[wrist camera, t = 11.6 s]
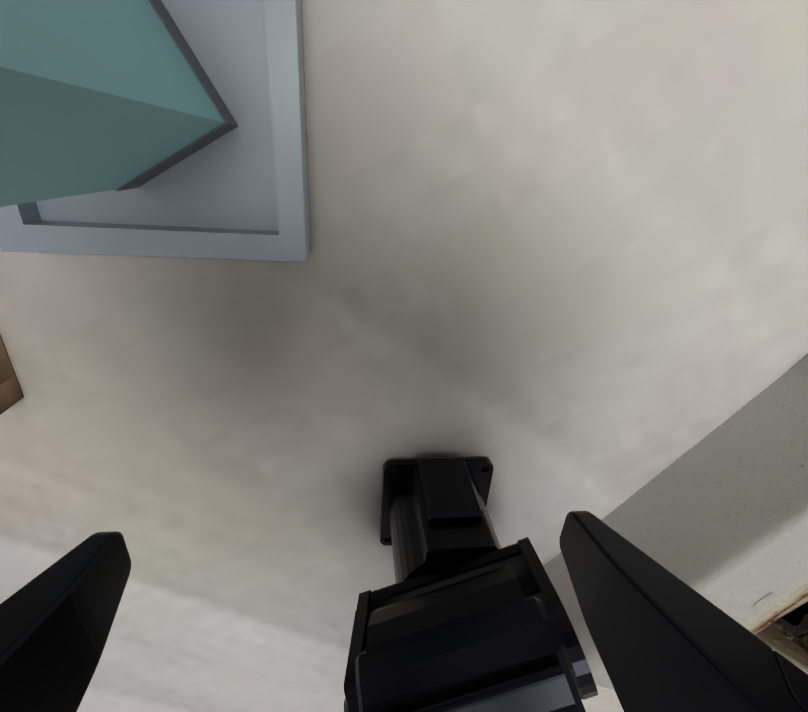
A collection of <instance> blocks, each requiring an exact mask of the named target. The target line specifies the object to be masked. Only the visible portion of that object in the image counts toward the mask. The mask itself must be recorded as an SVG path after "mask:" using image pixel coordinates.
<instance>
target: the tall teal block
mask: <svg viewBox="0 0 808 712" xmlns="http://www.w3.org/2000/svg"><path fill="white" fill-rule="evenodd" d="M236 127H238V124H237V123H236V121H235V119H234V118H233V116H232V114H231V113H230V111H229V110H228V108H227V106H226V105H225V103H224V101H223V100H222V98H221V97H220V95H219V93H218V92H217V90H216V88H215V87H214V85H213V84H212V82H211V80H210V79H209V77H208V75H207V74H206V72H205V71H204V69H203V67H202V66H201V64H200V62H199V61H198V59H197V58H196V56H195V54H194V53H193V51H192V49H191V48H190V46H189V45H188V43H187V41H186V40H185V38H184V36H183V35H182V33H181V32H180V30H179V28H178V27H177V25H176V23H175V22H174V20H173V19H172V17H171V15H170V14H169V12H168V10H167V9H166V7H165V6H164V4H163V2H162V1H161V0H0V207H2V206H9V205H15V204H22V203H29V202H35V201H42V200H49V199H55V198H62V197H69V196H75V195H82V194H88V193H95V192H102V191H108V190H115V191H122V190H128V189H134V188H138V187H140V186H141V185H143V184H145V183H146V182H148V181H150V180H151V179H153V178H154V177H156V176H158V175H159V174H161V173H163V172H164V171H166V170H168V169H169V168H171V167H172V166H174V165H176V164H177V163H179V162H181V161H182V160H184V159H185V158H187V157H189V156H190V155H192V154H194V153H195V152H197V151H199V150H200V149H202V148H203V147H205V146H207V145H208V144H210V143H212V142H213V141H215V140H216V139H218V138H220V137H221V136H223V135H225V134H226V133H228V132H230V131H231V130H233V129H234V128H236Z"/></svg>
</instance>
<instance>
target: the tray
mask: <svg viewBox="0 0 808 712" xmlns="http://www.w3.org/2000/svg"><path fill="white" fill-rule="evenodd" d="M161 1H162V2H163V4H164V6H165V7H166V9H167V10H168V12H169V14H170V15H171V17H172V19H173V20H174V22H175V23H176V25H177V27H178V28H179V30H180V32H181V33H182V35H183V36H184V38H185V40H186V41H187V43H188V45H189V46H190V48H191V49H192V51H193V53H194V54H195V56H196V58H197V59H198V61H199V62H200V64H201V66H202V67H203V69H204V71H205V72H206V74H207V75H208V77H209V79H210V80H211V82H212V84H213V85H214V87H215V88H216V90H217V92H218V93H219V95H220V97H221V98H222V100H223V101H224V103H225V105H226V106H227V108H228V110H229V111H230V113H231V114H232V116H233V118H234V119H235V121H236V123H237V124H238V127H236V128H234V129H233V130H231V131H230V132H228V133H226V134H225V135H223V136H221V137H220V138H218V139H216V140H215V141H213V142H212V143H210V144H208V145H207V146H205V147H203V148H202V149H200V150H199V151H197V152H195V153H194V154H192V155H190V156H189V157H187V158H185V159H184V160H182V161H181V162H179V163H177V164H176V165H174V166H172V167H171V168H169V169H168V170H166V171H164V172H163V173H161V174H159V175H158V176H156V177H154V178H153V179H151V180H150V181H148V182H146V183H145V184H143V185H141V186H140V187H138V188H134V189H128V190H122V191H115V190H108V191H102V192H95V193H88V194H82V195H75V196H69V197H62V198H55V199H49V200H42V201H35V202H29V203H22V204H15V205H9V206H2V207H0V246H1V249H2V251H11V252H39V253H67V254H96V255H124V256H153V257H181V258H210V259H238V260H267V261H295V262H306V261H307V258H308V256H309V254H310V226H309V197H308V169H307V140H306V111H305V82H304V53H303V24H302V0H161Z"/></svg>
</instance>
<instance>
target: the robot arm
mask: <svg viewBox="0 0 808 712" xmlns="http://www.w3.org/2000/svg"><path fill="white" fill-rule="evenodd" d="M483 466H486V467H485V468H482V467H483ZM392 468H394V469H395V470H392V471H391V470H390V469H392ZM492 473H493V465H492V463H491V461H490V460H489V459H487V458H466V459H426V460H392V461H388V462H386V463H385V464H384V467H383V483H382V503H381V522H380V542H381V543H382V544H383V545H392V549H393V558H394V568H395V578H396V584H393V585H390V586H387V587H384V588H381V589H378V590H375V591H372V592H371V591H370V590H369V591H366V592H363V593H360V594H359V599H358V605H357V610H356V613H355V619H354V625H353V631H352V638H351V644H350V650H349V656H348V662H347V668H346V675H345V681H344V692H345V697H346V698H345V701H344V712H585V709H584V706H583V704H582V701H581V699H587V698H590V697H593V696H596V695H598V692H597V688H596V685H595V681H594V679H593V676H592V673H591V670H590V667H589V665H588V662H587V659H586V657H585V654H584V652H583V649H582V647H581V644H580V642H579V640H578V637H577V635H576V633H575V630H574V628H573V626H572V623H571V621H570V619H569V617H568V615H567V612H566V610H565V608H564V606H563V604H562V602H561V600H560V598H559V596H558V594H557V592H556V590H555V588H554V586H553V584H552V583H551V581H550V579H549V577H548V575H547V573H546V571H545V569H544V567H543V565H542V563H541V562H540V560H539V558H538V556H537V554H536V552H535V550H534V548H533V546H532V544H531V542H530V541H529V539H528V537H527V538H524V539H521V540H518V541H517V542H518V543H516V544H513V545H510V546H507V547H504V548H501V547H500V544H499V542H498V539H497V536H496V534H495V531H494V528H493V526H492V523H491V520H490V518H489V515H488V513H487V510H486V503H487V498H488V493H489V488H490V483H491V478H492ZM387 537H388V538H387ZM560 548H561V552H562V555H563V558H564V561H565V564H566V567H567V570H568V573H569V576H570V579H571V582H572V585H573V588H574V591H575V594H576V597H577V600H578V603H579V606H580V609H581V612H582V615H583V617H584V620H585V623H586V625H587V628H588V630H589V632H590V635H591V637H592V639H593V642H594V644H595V646H596V649H597V651H598V653H599V655H600V658H601V660H602V662H603V664H604V667H605V669H606V671H607V674H608V676H609V678H610V680H611V683H612V685H613V687H614V689H615V692H616V694H617V696H618V699H619V701H620V703H621V705H622V708H623V710H624V712H808V674H807V673H806V672H804V671H803V670H801V669H800V668H799V667H797V666H796V665H795V664H793V663H792V662H791V661H789V660H788V659H787V658H785V657H784V656H783V655H781V654H780V653H779V652H777V651H773V650H772V648H771V647H770V646H769V645H768V644H766V643H765V642H764V641H762V640H761V639H760V638H758V637H757V636H756V635H754V634H753V633H752V632H750V631H749V630H748V629H746V628H745V627H743V626H742V625H741V624H739V623H738V622H737V621H735V620H734V619H733V618H731V617H730V616H729V615H727V614H726V613H725V612H723V611H722V610H721V609H719V608H718V607H717V606H715V605H714V604H713V603H711V602H710V601H709V600H707V599H706V598H705V597H703V596H702V595H701V594H699V593H698V592H696V591H695V590H694V589H692V588H691V587H690V586H688V585H687V584H686V583H684V582H683V581H682V580H680V579H679V578H678V577H676V576H675V575H674V574H672V573H671V572H670V571H668V570H667V569H666V568H664V567H663V566H662V565H660V564H659V563H658V562H656V561H655V560H654V559H652V558H651V557H649V556H648V555H647V554H645V553H644V552H643V551H641V550H640V549H639V548H637V547H636V546H635V545H633V544H632V543H631V542H629V541H628V540H627V539H625V538H624V537H623V536H621V535H620V534H619V533H617V532H616V531H615V530H613V529H612V528H611V527H609V526H608V525H607V524H605V523H604V522H602V521H601V520H600V519H598V518H597V517H596V516H594V515H593V514H592V513H590V512H588V511H571V512H569V513H568V514H567V516H566V520H565V523H564V526H563V529H562V532H561V536H560ZM130 570H131V559H130V556H129V553H128V550H127V547H126V544H125V541H124V537H123V535H122V534H121V533H120V532H117V531H115V532H98V533H95V534H93V535H91V536H90V537H89V538H87V539H86V540H85V541H83V542H82V543H81V544H79V545H78V546H77V547H75V548H74V549H73V550H71V551H70V552H69V553H67V554H66V555H65V556H63V557H62V558H61V559H59V560H58V561H57V562H55V563H54V564H53V565H52V566H50V567H49V568H48V569H46V570H45V571H44V572H42V573H41V574H40V575H38V576H37V577H36V578H34V579H33V580H32V581H30V582H29V583H28V584H26V585H25V586H24V587H22V588H21V589H20V590H18V591H17V592H16V593H14V594H13V595H12V596H10V597H9V598H8V599H7V600H5V601H4V602H3V603H1V604H0V712H77V710H78V707H79V705H80V703H81V701H82V699H83V696H84V694H85V692H86V690H87V688H88V685H89V683H90V681H91V679H92V677H93V674H94V672H95V670H96V667H97V665H98V663H99V660H100V657H101V655H102V652H103V649H104V647H105V644H106V641H107V638H108V635H109V632H110V629H111V626H112V623H113V621H114V618H115V615H116V612H117V609H118V606H119V603H120V600H121V597H122V594H123V592H124V589H125V586H126V583H127V580H128V577H129V574H130Z"/></svg>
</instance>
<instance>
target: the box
mask: <svg viewBox="0 0 808 712" xmlns="http://www.w3.org/2000/svg"><path fill="white" fill-rule="evenodd" d="M601 521H602V522H604V523H605V524H607V525H608V526H609V527H611V528H612V529H613V530H615V531H616V532H617V533H619V534H620V535H621V536H623V537H624V538H625V539H627V540H628V541H629V542H631V543H632V544H633V545H635V546H636V547H637V548H639V549H640V550H641V551H643V552H644V553H645V554H647V555H648V556H649V557H651V558H652V559H654V560H655V561H656V562H658V563H659V564H660V565H662V566H663V567H664V568H666V569H667V570H668V571H670V572H671V573H672V574H674V575H675V576H676V577H678V578H679V579H680V580H682V581H683V582H684V583H686V584H687V585H688V586H690V587H691V588H692V589H694V590H695V591H696V592H698V593H699V594H701V595H702V596H703V597H705V598H706V599H707V600H709V601H710V602H711V603H713V604H714V605H715V606H717V607H718V608H719V609H721V610H722V611H723V612H725V613H726V614H727V615H729V616H730V617H731V618H733V619H734V620H735V621H737V622H738V623H739V624H741V625H742V626H743V627H745V628H746V629H748V630H749V631H750V632H752V633H753V634H754V635H756V636H757V637H758V638H760V639H761V640H762V641H764V642H765V643H766V644H768V645H769V646H770V647H771V648H772V650H773V651H777V652H779V653H780V654H781V655H783V656H784V657H785V658H787V659H788V660H789V661H791V662H792V663H793V664H795V665H796V666H797V667H799V668H800V669H801V670H803V671H804V672H806V673H807V674H808V614H806V615H804V618H803V619H802V621H801V623H800V624H799V625H798V626H793V625H791V624H790V623H788V622H787V621H785V620H784V619H782V618H781V617H782V616H784V615H786V614H788V613H789V612H791V611H793V610H794V609H796V608H797V607H799V606H801V605H802V604H804V603H806V602H808V355H807V356H805V357H804V358H803V359H802V360H801V361H799V362H798V363H797V364H796V365H794V366H793V367H792V368H791V369H790V370H788V371H787V372H786V373H785V374H784V375H782V376H781V377H780V378H779V379H778V380H776V381H775V382H774V383H773V384H771V385H770V386H769V387H768V388H766V389H765V390H764V391H763V392H761V393H760V394H759V395H758V396H756V397H755V398H754V399H753V400H751V401H750V402H749V403H748V404H746V405H745V406H744V407H743V408H741V409H740V410H739V411H738V412H736V413H735V414H734V415H733V416H731V417H730V418H729V419H728V420H726V421H725V422H724V423H723V424H722V425H720V426H719V427H718V428H716V429H715V430H714V431H713V432H711V433H710V434H709V435H708V436H706V437H705V438H704V439H703V440H701V441H700V442H699V443H698V444H696V445H695V446H694V447H693V448H691V449H690V450H689V451H688V452H686V453H685V454H684V455H683V456H681V457H680V458H679V459H678V460H676V461H675V462H674V463H673V464H671V465H670V466H669V467H668V468H666V469H665V470H664V471H663V472H661V473H660V474H659V475H658V476H656V477H655V478H654V479H653V480H651V481H650V482H649V483H648V484H646V485H645V486H644V487H643V488H641V489H640V490H639V491H638V492H636V493H635V494H634V495H633V496H631V497H630V498H629V499H628V500H626V501H625V502H624V503H623V504H621V505H620V506H619V507H618V508H616V509H615V510H614V511H613V512H611V513H610V514H609V515H608V516H606V517H605V518H604V519H603V520H601ZM544 569H545V571H546V573H547V575H548V577H549V579H550V581H551V583H552V584H553V586H554V588H555V590H556V592H557V594H558V596H559V598H560V600H561V602H562V604H563V606H564V608H565V610H566V612H567V615H568V617H569V619H570V621H571V623H572V626H573V628H574V630H575V633H576V635H577V637H578V640H579V642H580V644H581V647H582V649H583V652H584V654H585V657H586V659H587V662H588V665H589V667H590V670H591V673H592V676H593V679H594V681H595V684H597V685H599V686H602V687H605V688H610V689H614V687H613V685H612V683H611V680H610V678H609V676H608V674H607V671H606V669H605V667H604V664H603V662H602V660H601V658H600V655H599V653H598V651H597V649H596V646H595V644H594V642H593V639H592V637H591V635H590V632H589V630H588V628H587V625H586V623H585V620H584V617H583V615H582V612H581V609H580V606H579V603H578V600H577V597H576V594H575V591H574V588H573V585H572V582H571V579H570V576H569V573H568V570H567V567H566V564H565V561H564V558H563V555H562V552H561V553H560V554H559V555H558V556H556V557H555V558H554V559H553V560H551V561H550V562H549V563H547V564H546V565H545V566H544ZM614 690H615V689H614Z"/></svg>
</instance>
